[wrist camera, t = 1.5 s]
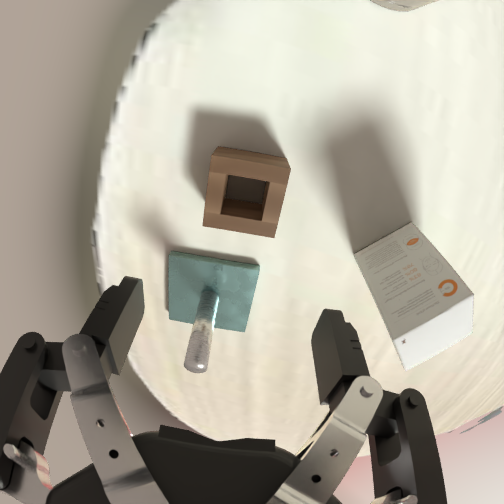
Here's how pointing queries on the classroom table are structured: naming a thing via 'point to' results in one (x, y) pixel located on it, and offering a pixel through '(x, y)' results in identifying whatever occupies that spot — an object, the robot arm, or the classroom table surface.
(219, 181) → the hollow block
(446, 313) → the small box
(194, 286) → the post
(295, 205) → the classroom table surface
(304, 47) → the classroom table surface
